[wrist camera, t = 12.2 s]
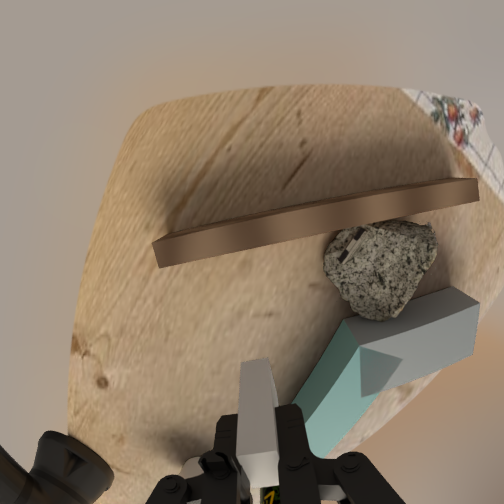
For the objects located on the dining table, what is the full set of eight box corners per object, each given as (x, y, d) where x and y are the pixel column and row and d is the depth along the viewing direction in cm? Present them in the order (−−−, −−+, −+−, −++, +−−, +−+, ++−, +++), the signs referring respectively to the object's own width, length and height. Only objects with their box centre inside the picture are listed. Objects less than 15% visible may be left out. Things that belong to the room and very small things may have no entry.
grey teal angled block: (282, 436, 30) (284, 466, 25) (256, 338, 27) (255, 368, 22) (440, 388, 28) (458, 411, 24) (452, 286, 25) (480, 302, 20)
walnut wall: (173, 255, 25) (159, 268, 21) (167, 234, 25) (151, 243, 21) (455, 197, 23) (479, 200, 20) (452, 177, 23) (477, 178, 19)
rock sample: (336, 188, 20) (433, 267, 15) (382, 183, 24) (456, 242, 20) (290, 287, 26) (356, 358, 22) (339, 265, 31) (396, 321, 26)
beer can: (305, 458, 31) (315, 529, 20) (289, 476, 33) (294, 541, 21) (268, 453, 31) (270, 528, 19) (254, 471, 32) (253, 539, 21)
